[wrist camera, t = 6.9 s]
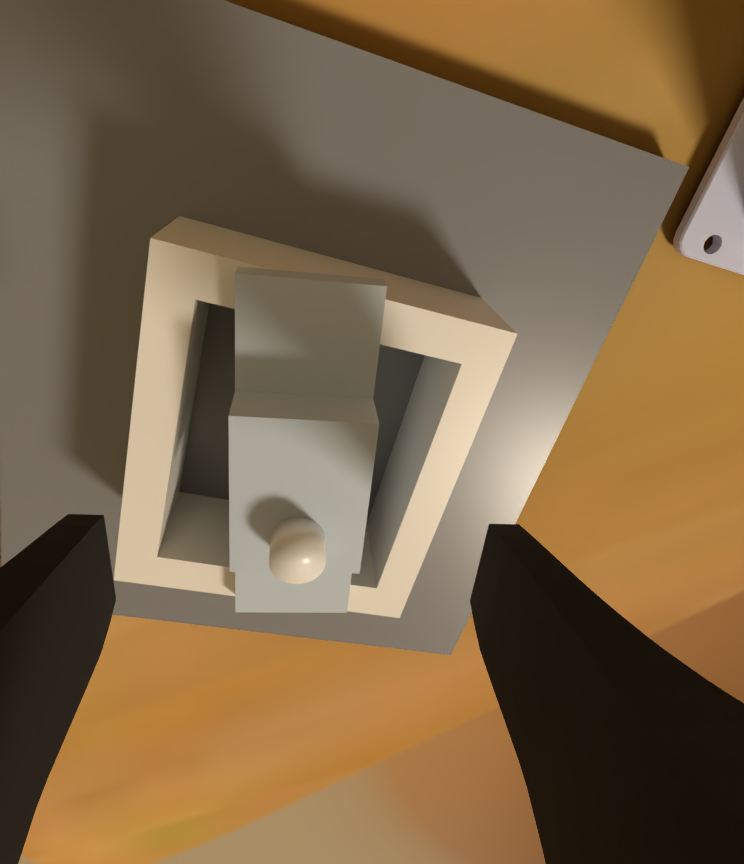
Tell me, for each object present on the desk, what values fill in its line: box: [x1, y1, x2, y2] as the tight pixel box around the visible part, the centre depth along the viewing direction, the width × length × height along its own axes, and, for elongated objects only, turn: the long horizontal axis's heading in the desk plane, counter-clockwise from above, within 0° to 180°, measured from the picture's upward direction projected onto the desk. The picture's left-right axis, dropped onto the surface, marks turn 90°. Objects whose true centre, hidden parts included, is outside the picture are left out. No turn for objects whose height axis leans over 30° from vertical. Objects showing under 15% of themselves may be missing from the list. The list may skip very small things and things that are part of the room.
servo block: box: [228, 266, 387, 613], centre depth 14 cm, size 3×9×6 cm, turn 174°
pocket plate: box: [0, 0, 689, 655], centre depth 16 cm, size 16×18×4 cm
